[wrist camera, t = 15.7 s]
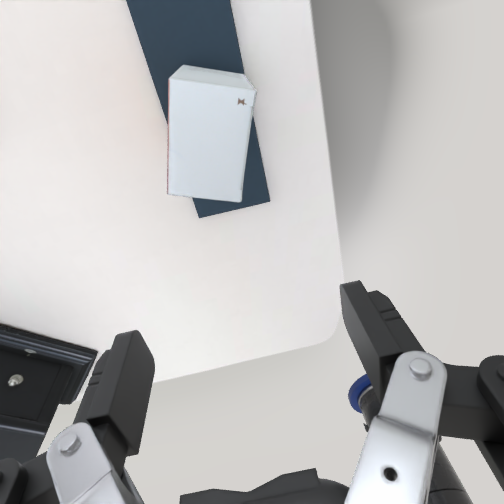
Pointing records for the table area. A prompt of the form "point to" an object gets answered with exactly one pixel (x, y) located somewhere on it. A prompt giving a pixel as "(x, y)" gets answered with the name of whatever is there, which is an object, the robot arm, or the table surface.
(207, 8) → the side mat
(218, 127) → the small box
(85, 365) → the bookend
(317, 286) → the table surface
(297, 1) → the table surface
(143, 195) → the table surface
